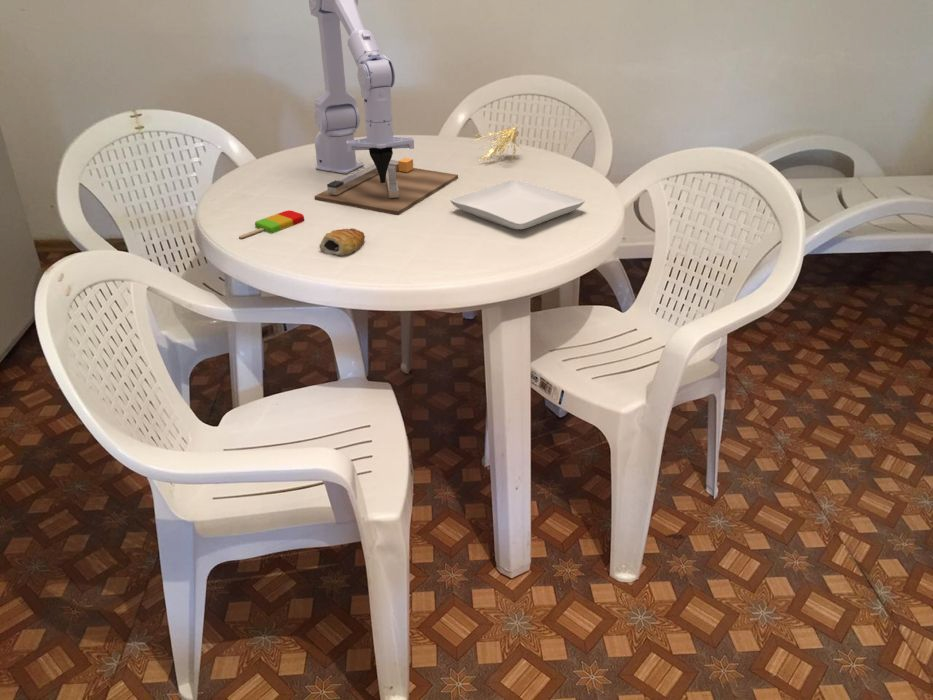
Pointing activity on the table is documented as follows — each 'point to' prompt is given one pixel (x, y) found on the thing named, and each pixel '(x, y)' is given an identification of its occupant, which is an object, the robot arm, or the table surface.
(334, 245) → the pastry
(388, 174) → the bar
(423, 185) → the walnut board
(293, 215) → the popsicle
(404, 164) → the orange block
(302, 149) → the table surface
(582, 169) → the table surface
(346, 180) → the tongs frame
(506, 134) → the crumpled gold foil
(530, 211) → the salad plate
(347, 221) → the table surface
